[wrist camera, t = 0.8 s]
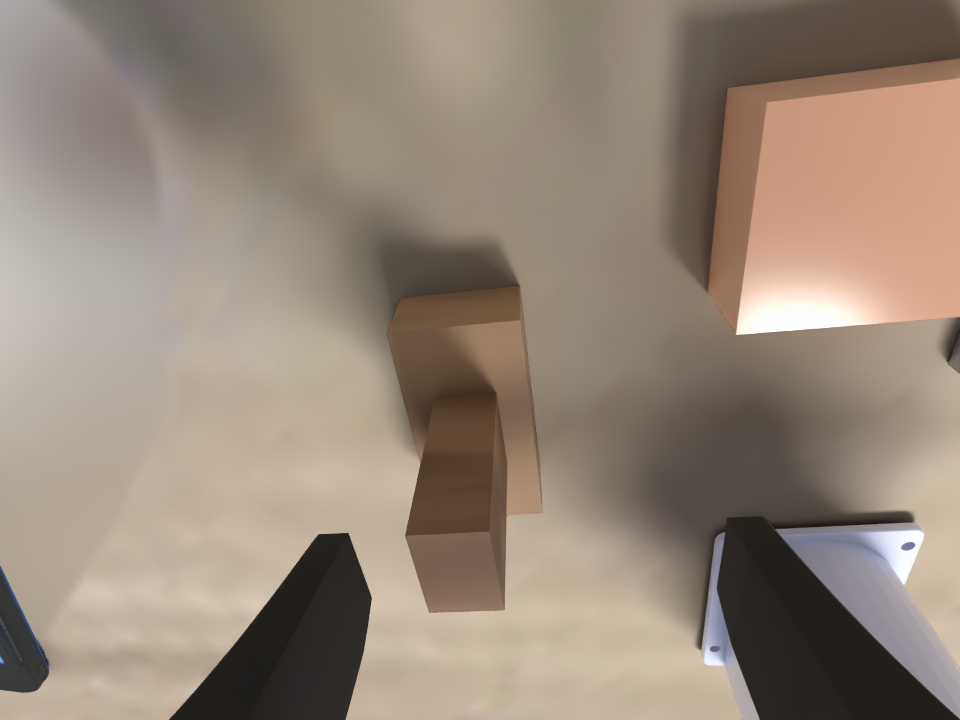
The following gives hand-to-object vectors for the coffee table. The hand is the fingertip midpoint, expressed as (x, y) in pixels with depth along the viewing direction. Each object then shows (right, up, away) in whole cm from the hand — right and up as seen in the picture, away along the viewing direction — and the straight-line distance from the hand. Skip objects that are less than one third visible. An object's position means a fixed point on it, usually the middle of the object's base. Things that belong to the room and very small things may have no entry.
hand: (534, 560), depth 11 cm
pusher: (-1, +3, +10) cm, 10 cm away
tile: (+9, +9, +5) cm, 14 cm away
